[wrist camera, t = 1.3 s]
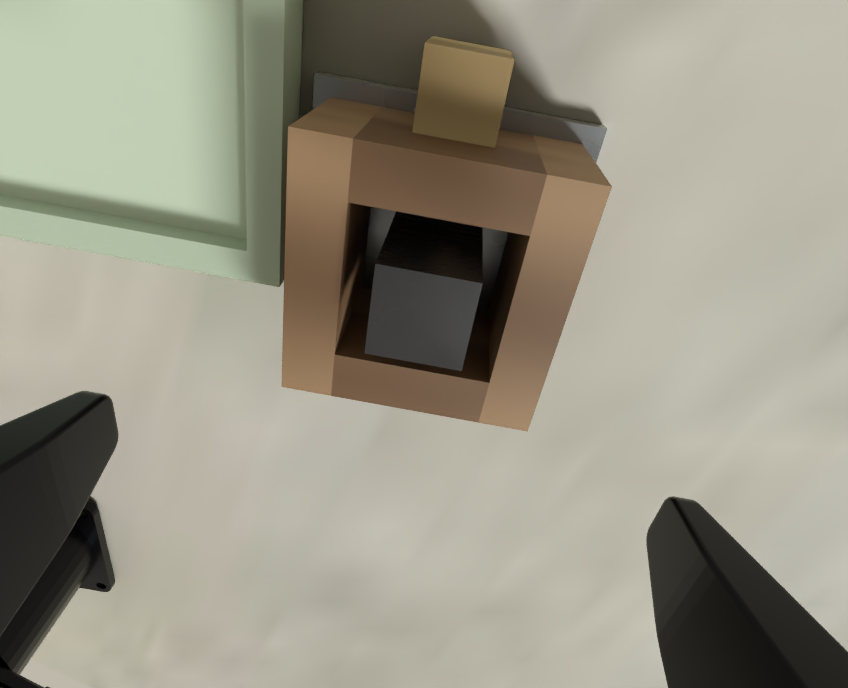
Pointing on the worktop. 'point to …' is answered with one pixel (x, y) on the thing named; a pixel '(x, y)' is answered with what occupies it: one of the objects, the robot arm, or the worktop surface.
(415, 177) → the wooden lantern frame
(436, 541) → the worktop surface
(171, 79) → the tray
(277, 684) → the worktop surface
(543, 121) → the grey upright post
